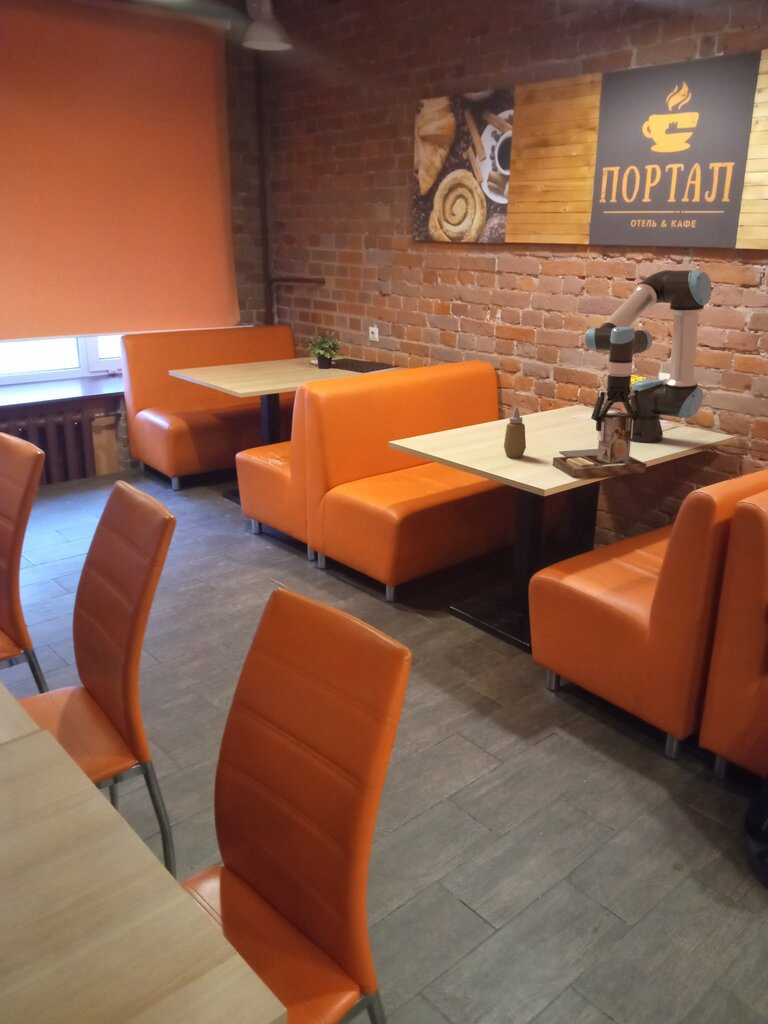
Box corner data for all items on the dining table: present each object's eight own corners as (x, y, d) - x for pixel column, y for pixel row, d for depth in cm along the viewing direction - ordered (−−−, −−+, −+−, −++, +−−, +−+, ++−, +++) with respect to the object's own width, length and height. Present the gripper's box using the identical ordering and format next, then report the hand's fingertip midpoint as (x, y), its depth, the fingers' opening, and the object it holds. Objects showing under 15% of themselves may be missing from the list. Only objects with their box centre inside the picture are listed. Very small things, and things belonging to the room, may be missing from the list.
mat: (603, 449, 310) (603, 448, 310) (620, 458, 298) (620, 456, 298) (559, 452, 306) (559, 451, 306) (574, 461, 294) (574, 459, 294)
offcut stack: (580, 467, 288) (581, 457, 287) (596, 474, 279) (596, 463, 278) (565, 468, 286) (566, 458, 285) (580, 475, 277) (581, 465, 276)
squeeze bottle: (501, 453, 305) (502, 406, 300) (522, 453, 306) (524, 405, 300) (506, 459, 298) (508, 410, 292) (528, 458, 298) (530, 409, 293)
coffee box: (616, 456, 289) (620, 411, 284) (629, 460, 284) (633, 414, 279) (596, 459, 285) (599, 413, 280) (609, 463, 280) (613, 417, 275)
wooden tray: (621, 460, 295) (622, 452, 294) (645, 472, 279) (646, 464, 278) (552, 465, 289) (553, 457, 288) (573, 477, 274) (573, 469, 273)
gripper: (644, 371, 281) (638, 434, 288) (583, 374, 276) (579, 438, 283) (656, 374, 274) (650, 439, 281) (593, 378, 269) (589, 443, 276)
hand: (614, 439), depth 282 cm, fingers closed on coffee box, 10 cm apart
